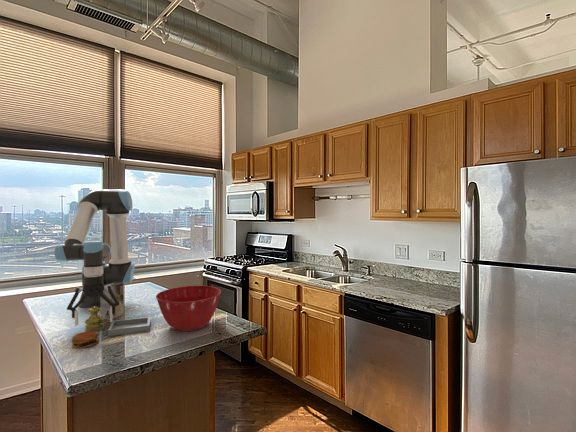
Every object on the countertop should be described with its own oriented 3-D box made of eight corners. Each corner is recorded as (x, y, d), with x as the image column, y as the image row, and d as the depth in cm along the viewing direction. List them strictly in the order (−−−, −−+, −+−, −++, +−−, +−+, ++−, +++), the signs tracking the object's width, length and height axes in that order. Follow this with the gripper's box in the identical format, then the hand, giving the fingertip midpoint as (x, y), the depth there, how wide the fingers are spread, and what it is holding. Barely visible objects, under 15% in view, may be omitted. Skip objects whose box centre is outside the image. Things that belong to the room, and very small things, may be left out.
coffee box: (113, 313, 173) (113, 282, 172) (124, 314, 171) (124, 282, 171) (100, 319, 164) (99, 286, 163) (111, 319, 162) (111, 286, 162)
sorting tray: (112, 326, 154) (112, 320, 154) (150, 321, 159) (150, 316, 159) (108, 336, 142) (108, 330, 141) (149, 331, 147) (149, 325, 147)
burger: (71, 343, 134) (71, 331, 134) (97, 338, 140) (97, 327, 140) (72, 352, 126) (72, 339, 126) (100, 346, 132) (100, 334, 132)
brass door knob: (99, 331, 147) (99, 309, 146) (81, 332, 146) (81, 309, 146) (107, 326, 154) (106, 304, 154) (90, 326, 153) (89, 304, 153)
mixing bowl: (203, 340, 136) (202, 302, 136) (142, 334, 143) (141, 298, 143) (230, 318, 164) (230, 287, 164) (178, 314, 170) (178, 284, 170)
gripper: (58, 279, 142) (58, 329, 142) (123, 275, 150) (124, 322, 150) (63, 276, 149) (63, 323, 149) (125, 272, 157) (126, 317, 157)
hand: (94, 323), depth 150 cm, fingers open, 13 cm apart
